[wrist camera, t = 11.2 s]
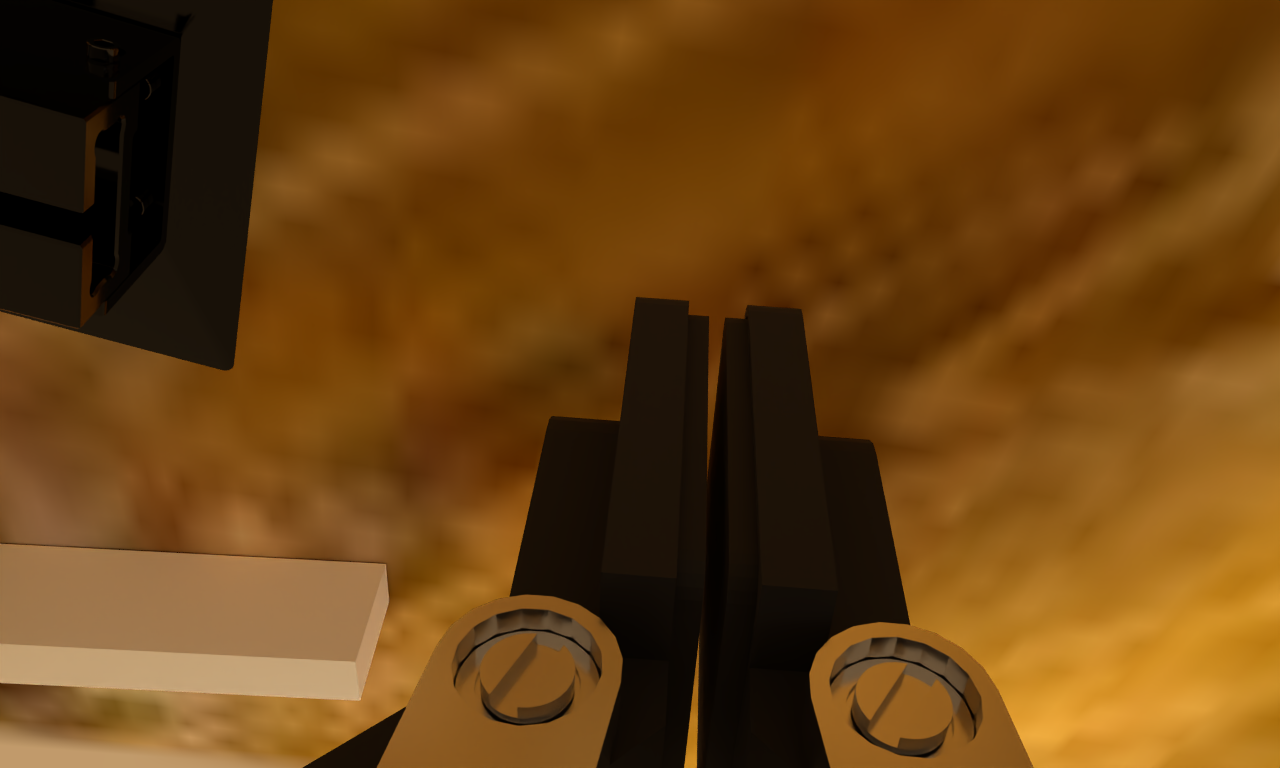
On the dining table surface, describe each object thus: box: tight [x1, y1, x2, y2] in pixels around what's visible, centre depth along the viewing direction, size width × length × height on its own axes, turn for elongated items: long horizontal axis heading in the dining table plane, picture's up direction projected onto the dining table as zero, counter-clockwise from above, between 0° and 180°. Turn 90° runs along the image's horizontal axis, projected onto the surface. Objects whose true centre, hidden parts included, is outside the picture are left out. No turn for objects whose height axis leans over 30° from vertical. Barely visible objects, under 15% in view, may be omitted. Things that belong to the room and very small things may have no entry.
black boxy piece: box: [0, 0, 273, 370], centre depth 18 cm, size 12×7×5 cm, turn 163°
